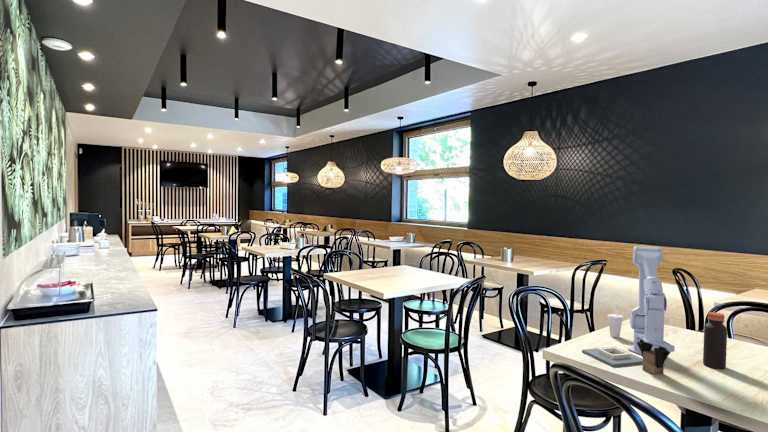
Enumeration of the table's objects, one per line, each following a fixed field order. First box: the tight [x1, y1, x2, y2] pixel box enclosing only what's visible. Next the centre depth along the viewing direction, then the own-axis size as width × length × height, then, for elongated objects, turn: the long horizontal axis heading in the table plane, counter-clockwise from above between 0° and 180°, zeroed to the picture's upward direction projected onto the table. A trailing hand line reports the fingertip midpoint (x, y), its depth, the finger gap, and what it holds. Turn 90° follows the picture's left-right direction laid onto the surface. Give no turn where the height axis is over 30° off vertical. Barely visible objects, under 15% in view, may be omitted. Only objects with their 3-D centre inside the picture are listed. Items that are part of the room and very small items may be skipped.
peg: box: [642, 350, 665, 376], centre depth 150 cm, size 4×4×7 cm
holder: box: [581, 346, 643, 368], centre depth 164 cm, size 16×16×2 cm
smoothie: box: [607, 306, 624, 339], centre depth 191 cm, size 6×6×14 cm
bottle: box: [702, 311, 728, 370], centre depth 156 cm, size 7×7×20 cm
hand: (653, 364), depth 150 cm, fingers open, 5 cm apart
